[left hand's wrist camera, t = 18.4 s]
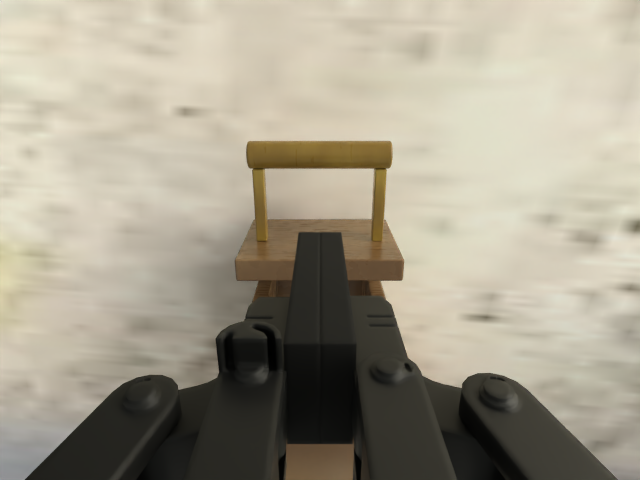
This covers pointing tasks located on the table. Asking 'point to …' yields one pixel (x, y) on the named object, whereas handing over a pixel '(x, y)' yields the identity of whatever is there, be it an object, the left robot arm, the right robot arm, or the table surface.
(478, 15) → the table surface
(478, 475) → the left robot arm
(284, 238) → the drawer
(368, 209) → the table surface
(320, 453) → the cabinet
